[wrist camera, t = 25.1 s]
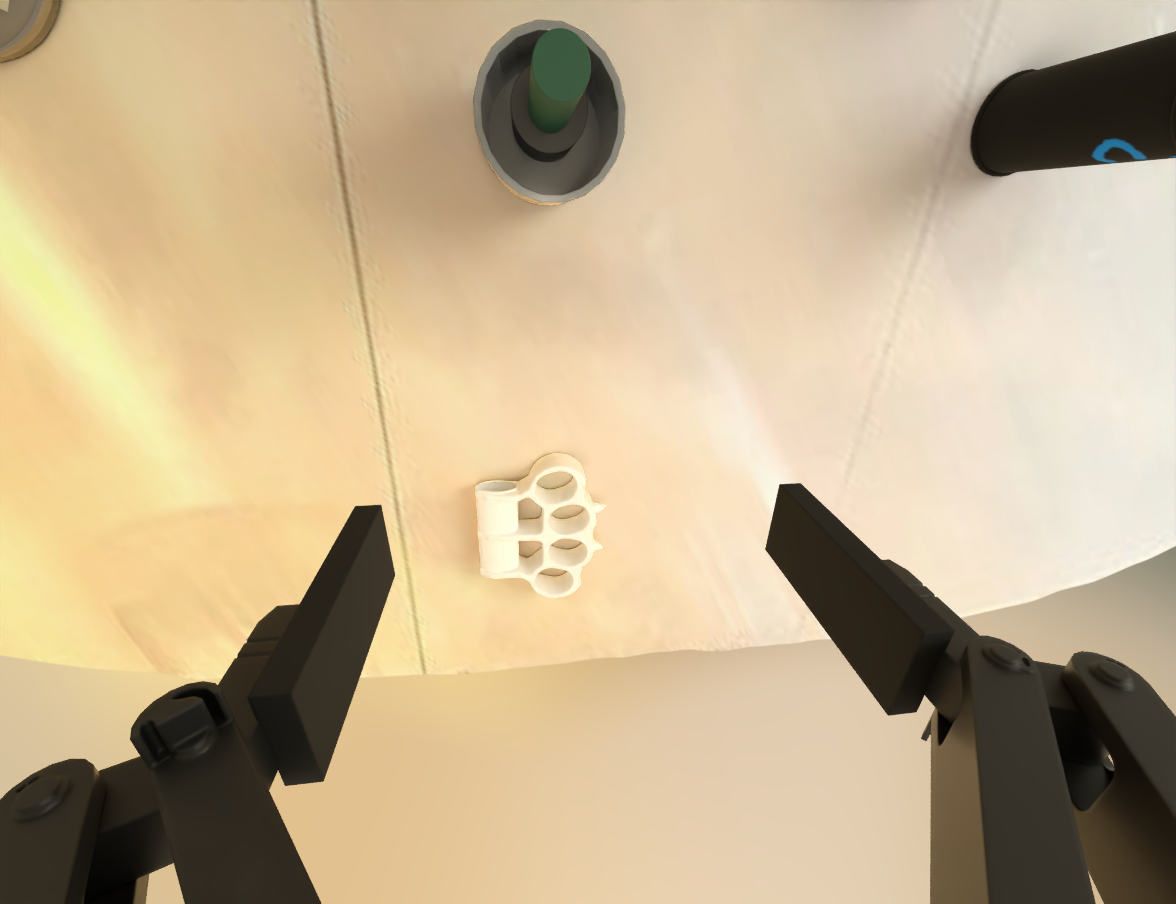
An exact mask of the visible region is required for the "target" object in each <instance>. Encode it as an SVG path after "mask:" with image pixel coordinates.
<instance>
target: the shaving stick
mask: <svg viewBox="0 0 1176 904" xmlns="http://www.w3.org/2000/svg"><path fill="white" fill-rule="evenodd" d="M590 74H591V60H590V55H589V52H588V49H587V47H586V45H585V44H584V42H583V41H582V39H581V38H580V37H579V36H578V35H577V34H576V33H574V32H573V31H571V30H568V29H565V28H555V29H551V30H549V31H547V32H546V33H544V34H543V35H542V36H541V37H540V38H539V40H538V41H537V43H536V45H535V47H534V50H533V54H532V61H531V64H530V65H528V66H527V67H526V68H525V69H524V70H523V71H522V72H521V73H520V75H519V76H518V77H517V79H516V81H515V83H514V86H513V89H512V93H511V118H512V128H513V133H514V136H515V139H516V141H517V143H518V145H519V146H520V148H521V149H522V150H523V151H524V152H525V153H526V154H527V155H528V156H529V157H531V158H533V159H534V160H537V161H540V162H554V161H557V160H559V159H561V158H563V157H564V156H565V155H566V154H567V153H568V152H569V151H570V150H571V149H572V147H573V146H574V145H575V143H576V142H577V141H578V139H579V138H580V137H581V135H582V133H583V131H584V129H585V126H586V123H587V117H588V101H587V96H586V92H585V89H586V87H587V84H588V82H589V79H590Z"/></svg>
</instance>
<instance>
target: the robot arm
mask: <svg viewBox="0 0 1176 904" xmlns="http://www.w3.org/2000/svg"><path fill="white" fill-rule="evenodd" d="M59 3H60V0H0V62H4V61H9V60H12V59H15V58H18V57H20V56H22V55H24V54H26V53H28V52H29V51H31V50H32V49H34V48H35V47H36V46H37V45H38V44H39V43H40V42H41V41H42V40H43V39H44V38H45V36H46V35H47V34H48V32H49V31H50V29H51V27H52V25H53V23H54V21H55V18H56V15H57V12H58V8H59ZM765 550H766V551H767V552H768V554H769V555H770V556H771V558H772V559H773V560H774V562H775V563H776V565H777V566H778V567H779V569H780V570H781V571H782V573H783V574H784V575H785V577H786V578H787V579H788V581H789V582H790V583H791V585H792V586H793V588H794V589H795V590H796V592H797V593H798V594H799V596H800V597H801V598H802V600H803V601H804V602H805V604H806V605H807V606H808V608H809V609H810V611H811V612H812V613H813V615H814V616H815V617H816V619H817V620H818V621H819V623H820V624H821V625H822V627H823V628H824V629H825V631H826V632H827V634H828V635H829V636H830V638H831V639H832V640H833V642H834V643H835V644H836V646H837V647H838V648H839V650H840V651H841V652H842V654H843V655H844V656H845V658H846V659H847V661H848V662H849V663H850V665H851V666H852V667H853V669H854V670H855V671H856V673H857V674H858V675H859V677H860V678H861V679H862V681H863V682H864V684H865V685H866V686H867V688H868V689H869V690H870V692H871V693H872V694H873V696H874V697H875V698H876V700H877V701H878V702H879V704H880V705H881V706H882V708H883V709H884V710H885V712H886V713H887V715H896V714H905V713H914V712H917V710H918V708H919V706H920V704H921V701H922V699H923V697H924V695H925V696H926V697H927V698H928V699H929V701H930V702H931V703H932V704H933V705H934V706H935V707H936V708H935V710H934V712H933V714H932V716H931V718H930V720H929V722H928V724H927V726H926V728H925V730H924V732H923V735H922V737H921V739H923V740H925V741H927V739H928V737H929V735H931V865H930V868H931V869H930V872H931V873H930V874H931V875H930V887H931V888H930V904H1096V903H1095V899H1094V895H1093V891H1092V886H1091V882H1090V878H1089V874H1088V871H1089V873H1090V875H1091V877H1092V880H1093V881H1094V884H1095V886H1096V888H1097V890H1098V892H1099V894H1100V896H1101V898H1102V900H1103V902H1104V904H1176V717H1175V715H1174V714H1173V713H1172V711H1171V710H1170V709H1169V708H1168V707H1167V705H1166V704H1165V703H1164V702H1163V700H1162V699H1161V698H1160V697H1159V695H1158V694H1157V693H1156V692H1155V690H1154V689H1153V688H1152V687H1151V686H1150V685H1149V683H1148V682H1146V681H1145V680H1144V679H1143V678H1142V677H1141V676H1140V675H1139V674H1138V673H1136V672H1135V671H1133V670H1132V669H1130V668H1129V667H1127V666H1126V665H1124V664H1122V663H1120V662H1119V661H1116V660H1114V659H1112V658H1109V657H1106V656H1103V655H1100V654H1097V653H1092V652H1083V651H1082V652H1078V653H1075V654H1073V656H1072V657H1071V659H1070V661H1069V662H1068V664H1067V665H1066V666H1061V665H1055V664H1049V663H1043V662H1038V661H1033V660H1032V659H1031V658H1030V657H1029V656H1028V655H1027V654H1026V653H1025V652H1023V651H1022V650H1020V649H1019V648H1017V647H1015V646H1014V645H1012V644H1010V643H1008V642H1005V641H1003V640H1001V639H998V638H994V637H990V636H979V635H978V634H977V633H976V632H975V631H974V630H973V629H972V628H971V627H970V626H968V625H967V624H966V623H965V622H964V621H963V620H962V619H961V618H960V617H959V616H958V615H956V614H955V613H954V612H953V611H952V610H951V609H950V608H949V607H948V606H947V605H945V604H944V603H943V602H942V601H941V600H940V599H939V598H938V597H935V596H934V594H933V593H932V592H931V591H930V590H929V589H928V588H927V587H926V586H923V585H922V583H921V582H920V581H919V580H918V579H917V578H916V577H915V576H914V575H913V574H911V573H910V572H909V571H908V570H906V569H905V568H903V567H901V566H899V565H898V564H896V563H894V562H893V561H891V560H881V559H880V558H879V557H878V556H877V555H876V554H874V553H873V552H872V551H871V550H870V549H869V548H868V547H867V546H866V545H865V544H864V543H863V542H862V541H861V540H860V539H859V538H858V537H857V536H855V535H854V534H853V533H852V532H851V531H850V530H849V529H848V528H847V527H846V526H845V525H844V524H843V523H842V522H841V521H840V520H839V519H838V518H837V517H835V516H834V515H833V514H832V513H831V512H830V511H829V510H828V509H827V508H826V507H825V506H824V505H823V504H822V503H821V502H820V501H819V500H818V499H816V498H815V497H814V496H813V495H812V494H811V493H810V492H809V491H808V490H807V489H806V488H805V487H804V486H803V485H802V484H801V483H797V484H780V485H779V489H778V494H777V498H776V503H775V508H774V512H773V517H772V521H771V526H770V530H769V535H768V539H767V544H766V549H765ZM394 577H395V572H394V567H393V562H392V557H391V552H390V547H389V542H388V537H387V532H386V527H385V522H384V517H383V512H382V507H381V505H370V506H355V508H354V509H353V511H352V513H351V515H350V516H349V518H348V520H347V522H346V523H345V525H344V527H343V529H342V530H341V532H340V534H339V536H338V538H337V539H336V541H335V543H334V545H333V546H332V548H331V550H330V552H329V553H328V555H327V557H326V559H325V560H324V562H323V564H322V566H321V568H320V569H319V571H318V573H317V575H316V576H315V578H314V580H313V582H312V583H311V585H310V587H309V589H308V590H307V592H306V594H305V596H304V598H303V599H302V601H301V603H300V604H297V605H284V606H277V607H275V608H274V609H273V610H272V611H271V612H270V613H268V614H267V615H266V616H265V617H264V618H263V619H261V620H260V621H259V622H258V624H257V625H256V627H255V628H254V630H253V631H252V633H251V635H250V636H249V638H248V639H247V643H245V644H244V645H243V647H242V649H241V650H240V652H239V653H238V657H237V658H235V659H234V661H233V662H232V664H231V666H230V667H229V669H228V670H227V672H226V673H225V675H224V676H223V678H222V680H221V681H220V683H219V684H218V685H216V684H215V683H210V682H204V681H202V682H196V683H190V684H186V685H184V686H181V687H179V688H176V689H174V690H171V691H169V692H168V693H166V694H165V695H163V696H162V697H160V698H158V699H157V700H155V701H154V702H153V703H152V704H150V705H149V706H148V707H147V708H146V709H145V710H144V711H143V712H142V713H141V714H140V715H139V717H138V718H137V720H136V721H135V723H134V724H133V726H132V728H131V737H130V740H131V742H132V743H133V745H134V746H135V748H136V750H137V751H138V753H139V754H140V757H137V758H134V759H131V760H128V761H126V762H123V763H120V764H117V765H114V766H111V767H109V768H106V769H103V770H100V771H97V769H96V768H95V767H94V765H93V764H92V763H90V762H88V761H87V760H86V759H68V760H65V761H62V762H58V763H55V764H52V765H50V766H48V767H46V768H44V769H42V770H40V771H38V772H36V773H34V774H32V775H30V776H29V777H27V778H26V779H24V780H23V781H22V782H20V783H19V784H17V785H16V786H15V787H13V788H12V789H11V790H10V791H8V792H7V793H6V794H5V795H4V796H3V798H1V800H0V904H146V896H147V887H148V879H149V873H152V872H154V871H156V870H159V869H161V868H163V867H165V866H168V865H170V864H172V863H174V865H175V869H176V872H177V876H178V880H179V884H180V887H181V891H182V895H183V899H184V902H185V904H321V901H320V900H319V897H318V895H317V893H316V891H315V889H314V886H313V884H312V882H311V880H310V878H309V876H308V874H307V872H306V869H305V867H304V865H303V863H302V861H301V859H300V856H299V854H298V852H297V850H296V848H295V846H294V844H293V841H292V839H291V837H290V835H289V833H288V831H287V828H286V826H285V824H284V822H283V820H282V818H281V816H280V813H279V811H278V809H277V807H276V805H275V803H274V801H273V799H272V796H271V794H270V792H269V789H270V787H271V785H272V782H273V780H274V778H275V776H276V773H277V771H278V770H279V773H280V775H281V778H282V780H283V782H284V785H285V786H288V785H297V784H306V783H313V782H323V781H324V779H325V776H326V773H327V770H328V767H329V764H330V761H331V758H332V755H333V753H334V749H335V747H336V744H337V741H338V738H339V735H340V732H341V729H342V726H343V724H344V721H345V718H346V715H347V712H348V709H349V706H350V704H351V700H352V698H353V695H354V692H355V689H356V686H357V683H358V680H359V678H360V675H361V672H362V669H363V666H364V663H365V660H366V657H367V655H368V652H369V649H370V646H371V643H372V640H373V637H374V634H375V631H376V629H377V626H378V623H379V620H380V617H381V614H382V611H383V608H384V606H385V603H386V600H387V597H388V594H389V591H390V588H391V585H392V582H393V580H394ZM1109 754H1110V756H1111V758H1112V760H1113V764H1114V766H1113V764H1112V762H1111V761H1110V759H1109V758H1108V755H1109ZM1087 869H1088V870H1087Z"/></svg>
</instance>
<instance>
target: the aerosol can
mask: <svg viewBox="0 0 1176 904" xmlns="http://www.w3.org/2000/svg"><path fill="white" fill-rule="evenodd" d="M971 147H972V153H973V157H974V160H975V162H976V164H977V165H978V167H979V168H980V169H981V170H982V171H983V172H985V173H987V174H989V175H992V176H1006V175H1010V174H1012V173H1015V172H1021V171H1032V170H1043V169H1055V168H1066V167H1077V166H1089V165H1100V164H1111V163H1123V162H1134V161H1145V160H1157V159H1168V158H1176V31H1175V32H1172V33H1168V34H1164V35H1161V36H1157V37H1154V38H1150V39H1147V40H1143V41H1139V42H1136V43H1132V44H1129V45H1125V46H1122V47H1118V48H1115V49H1111V50H1107V51H1104V52H1100V53H1097V54H1093V55H1090V56H1086V57H1083V58H1079V59H1075V60H1072V61H1068V62H1065V63H1061V64H1058V65H1054V66H1050V67H1047V68H1043V69H1040V70H1034V69H1030V70H1024V71H1021V72H1018V73H1016V74H1014V75H1012V76H1010V77H1009V78H1007V79H1006V80H1004V81H1003V82H1002V83H1001V84H1000V85H998V86H997V87H996V88H995V89H994V91H993V92H992V93H991V94H990V95H989V96H988V98H987V99H986V101H985V102H984V104H983V106H982V107H981V109H980V111H979V114H978V116H977V118H976V121H975V124H974V127H973V133H972V146H971Z"/></svg>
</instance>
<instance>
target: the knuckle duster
mask: <svg viewBox="0 0 1176 904" xmlns="http://www.w3.org/2000/svg"><path fill="white" fill-rule="evenodd" d="M557 471H563V472H567V473H569V474H571V475H572V476H573V478H572V480H571V481H570V482H569V483H568V484H567V485H565V486H563V487H559V488H556V489H544V488H542V487H540V486H539V485H538V484H537V481H538V480H539V479H540V478H541V477H542V476H544V475H546V474H550V473H553V472H557ZM585 484H586V478H585V474H584V470H583V467H582V466H581V464H580V463H579V462H578V461H577V460H576V459H575V458H573V457H572V456H570V455H567V454H563V453H553V454H548V455H546V456H543V457H542V458H540V459H539V460H537V461H536V462H535V463H534V465H533V466H532V468H531V470H530V472H529V475H528V476H526V477H525V478H523V479H521V480H520V481H504V480H493V481H486V482H482V483H479V484H477V485H476V486H475V497H476V506H477V522H478V538H479V554H480V573H481V574H482V575H483V576H485V577H488V578H494V579H501V578H523V579H525V580H527V581H529V582H530V584H531V586H532V588H533V589H534V590H535V591H536V592H537V593H538V594H540V595H542V596H545V597H549V598H560V597H564V596H567V595H569V594H571V593H573V592H574V591H575V590H576V589H577V588H578V587H579V586H580V584H581V579H580V572H581V570H582V568H583V567H584V565H585V564H586V563H587V562H589V561H590V560H591V557H592V554H593V552H594V551H595V550H598V549H601V548H604V547H603V546H601V545H600V544H599V543H598V542H596V541H595V540H594V538H593V533H592V532H593V529H594V527H595V525H596V524H597V520H596V516H595V515H596V514H598V513H599V512H600V511H601V510H602V509H603V508H605V507H606V506H607V505H605V504H600V503H596V502H592V500H591V496H590V494H588V493H587V492H586V491H585V489H584V488H585ZM524 498H531V499H532V500H533V501H534V502H535V503H536V504H538V505H539V506H541V507H542V514H541V516H540V517H539V518H537V519H520V520H518V501H520V500H522V499H524ZM570 504H577V505H580V506H582V507H584V510H583V511H582V512H581V513H580V514H578V515H577V516H574V517H571V518H567V519H558V518H555V517H553V516H552V515H551V513H552V512H553V511H554V510H555V509H557V508H559V507H563V506H566V505H570ZM563 538H569V539H574V540H578V541H580V542H582V543H581V544H580V545H579V546H577V547H576V548H573V549H568V550H566V549H560V548H556V547H553V546H552V545H551V544H552V543H553V542H555V541H556V540H559V539H563ZM532 540H537V541H540V542H541V549H540V550H538V551H536V552H535V553H534V554H533V555H532V556H531V557H529V558H525V557H523V556H521V555H519V541H532ZM547 568H558V569H563V570H566V571H567V572H566V573H564V574H563V575H560V576H547V575H543V574H540V573H539V572H540V571H542V570H544V569H547Z"/></svg>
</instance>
